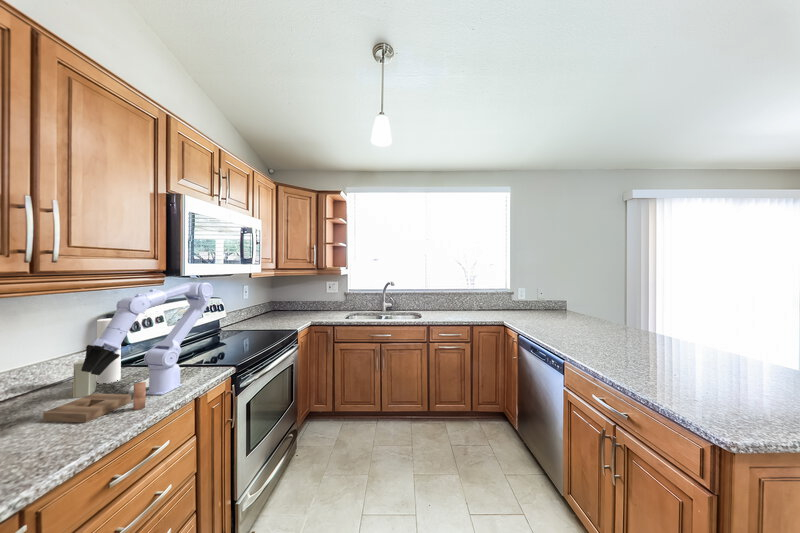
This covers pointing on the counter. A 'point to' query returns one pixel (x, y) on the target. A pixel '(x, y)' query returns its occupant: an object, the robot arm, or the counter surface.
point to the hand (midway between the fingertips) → (90, 373)
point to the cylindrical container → (114, 368)
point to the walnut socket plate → (87, 408)
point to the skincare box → (83, 381)
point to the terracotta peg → (139, 395)
